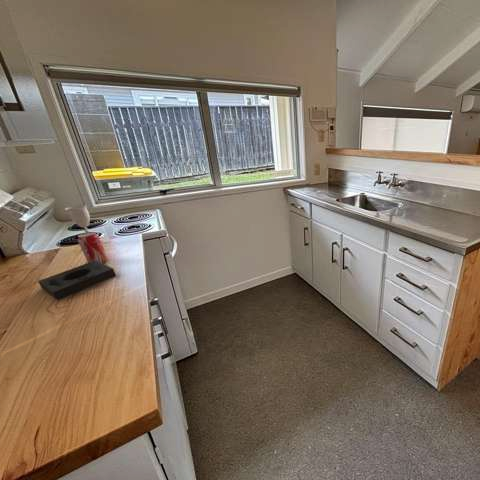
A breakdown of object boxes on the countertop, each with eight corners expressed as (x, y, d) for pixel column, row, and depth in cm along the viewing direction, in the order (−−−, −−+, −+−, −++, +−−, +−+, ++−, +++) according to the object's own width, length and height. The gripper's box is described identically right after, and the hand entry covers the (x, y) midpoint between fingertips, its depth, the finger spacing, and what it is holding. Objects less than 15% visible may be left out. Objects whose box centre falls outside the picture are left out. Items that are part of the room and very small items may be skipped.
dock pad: (57, 300, 79) (53, 292, 78) (42, 288, 85) (37, 281, 84) (116, 275, 91) (113, 268, 90) (98, 267, 98) (95, 260, 97)
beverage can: (84, 265, 100) (71, 237, 95) (100, 257, 105) (88, 230, 101) (97, 266, 98) (84, 237, 94) (112, 258, 104) (101, 231, 99)
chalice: (82, 249, 115) (64, 210, 108) (82, 244, 120) (65, 207, 112) (102, 244, 119) (86, 206, 112) (102, 240, 124) (87, 203, 117)
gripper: (-45, 185, 69) (25, 211, 78) (-22, 177, 83) (35, 200, 93) (-61, 204, 68) (12, 229, 78) (-35, 193, 83) (24, 214, 92)
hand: (24, 213), depth 85 cm, fingers open, 8 cm apart
